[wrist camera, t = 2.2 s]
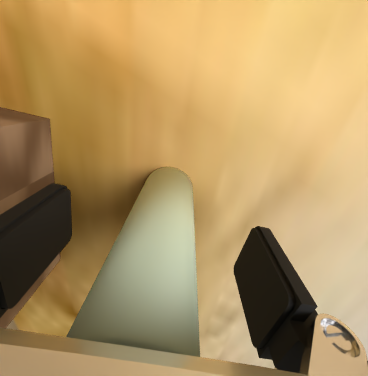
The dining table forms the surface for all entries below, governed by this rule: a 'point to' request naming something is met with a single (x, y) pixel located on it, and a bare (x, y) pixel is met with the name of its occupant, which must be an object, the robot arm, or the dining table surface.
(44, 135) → the socket block
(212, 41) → the dining table surface
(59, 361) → the robot arm
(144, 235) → the peg
